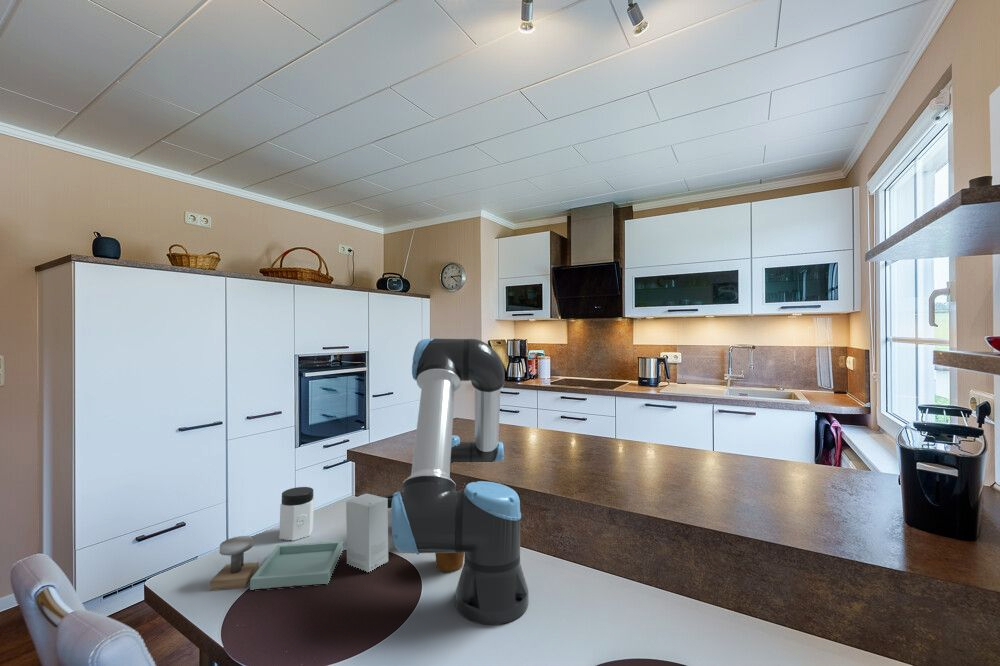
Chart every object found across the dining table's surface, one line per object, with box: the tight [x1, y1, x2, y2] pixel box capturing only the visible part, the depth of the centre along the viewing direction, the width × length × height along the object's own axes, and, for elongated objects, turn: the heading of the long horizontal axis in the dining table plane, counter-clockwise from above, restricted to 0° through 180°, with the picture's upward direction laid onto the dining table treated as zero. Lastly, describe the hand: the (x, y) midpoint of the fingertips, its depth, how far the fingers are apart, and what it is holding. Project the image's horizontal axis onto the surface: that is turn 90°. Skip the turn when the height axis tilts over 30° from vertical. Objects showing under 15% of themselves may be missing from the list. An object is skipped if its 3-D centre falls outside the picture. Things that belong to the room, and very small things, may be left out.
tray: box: [249, 540, 344, 591], centre depth 98 cm, size 16×16×2 cm
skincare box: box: [345, 493, 389, 573], centre depth 101 cm, size 8×7×16 cm
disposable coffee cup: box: [434, 553, 465, 573], centre depth 100 cm, size 10×10×12 cm
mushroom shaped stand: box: [209, 535, 260, 591], centre depth 93 cm, size 7×7×8 cm
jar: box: [278, 486, 315, 542], centre depth 116 cm, size 9×8×12 cm
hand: (384, 518), depth 107 cm, fingers open, 13 cm apart
